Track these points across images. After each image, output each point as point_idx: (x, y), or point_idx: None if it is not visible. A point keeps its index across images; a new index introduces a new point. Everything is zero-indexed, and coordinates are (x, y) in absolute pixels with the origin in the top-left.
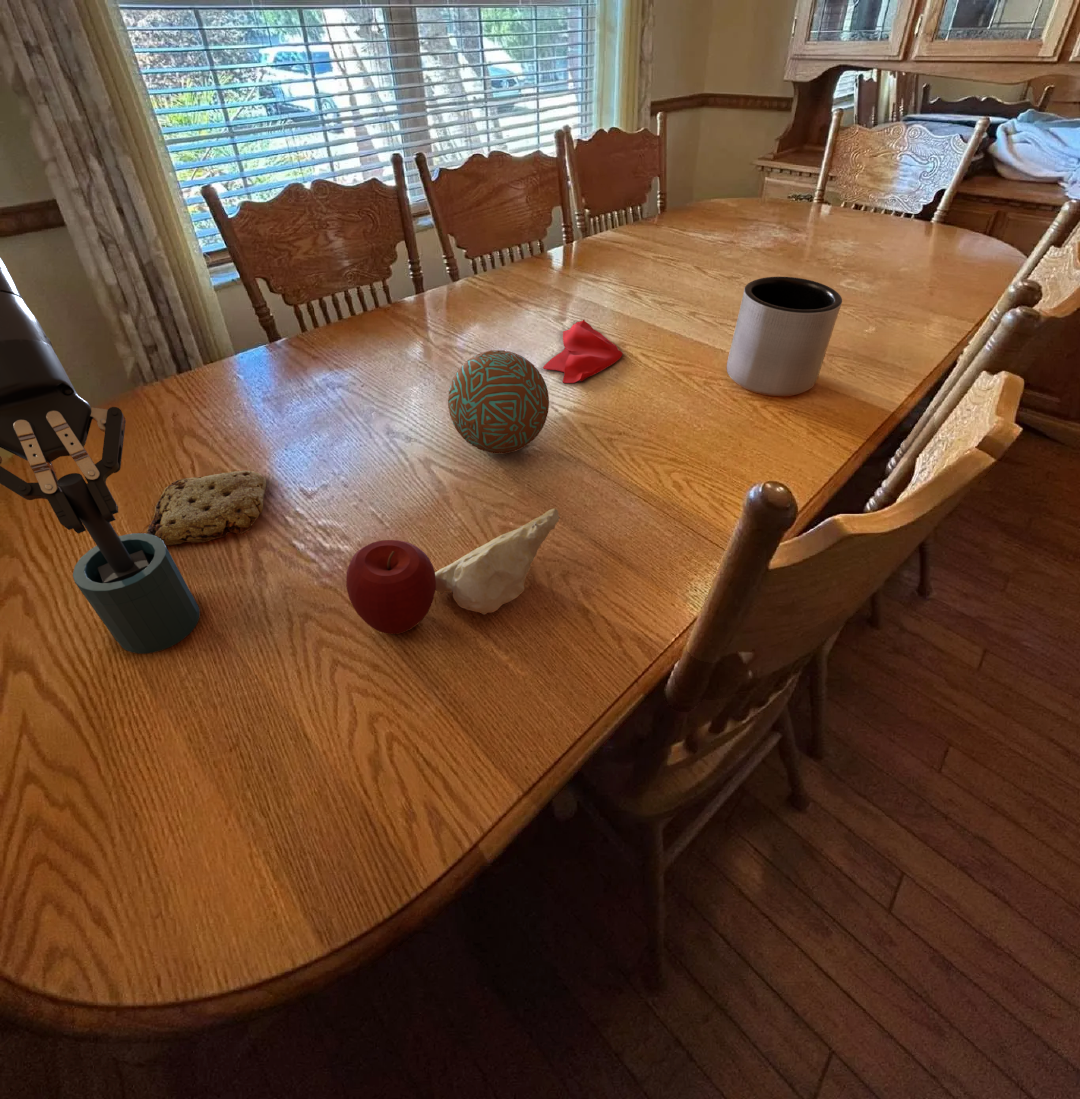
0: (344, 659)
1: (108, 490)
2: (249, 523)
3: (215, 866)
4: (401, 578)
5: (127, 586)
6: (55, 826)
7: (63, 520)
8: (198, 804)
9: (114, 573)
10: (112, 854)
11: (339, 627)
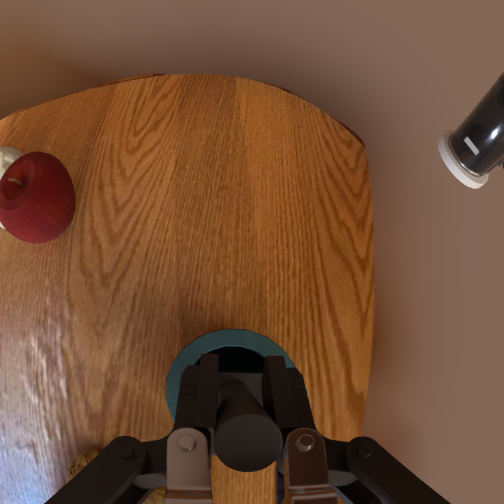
0: (111, 209)
1: (177, 402)
2: (89, 449)
3: (265, 128)
4: (29, 154)
5: (240, 329)
6: (348, 211)
7: (295, 380)
8: (261, 164)
9: (248, 385)
10: (317, 170)
11: (91, 245)
